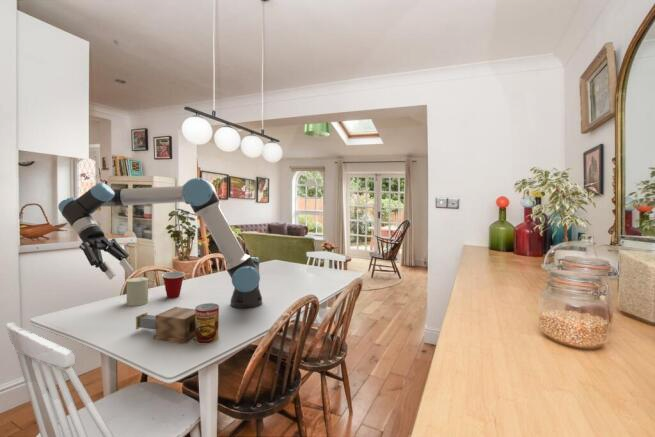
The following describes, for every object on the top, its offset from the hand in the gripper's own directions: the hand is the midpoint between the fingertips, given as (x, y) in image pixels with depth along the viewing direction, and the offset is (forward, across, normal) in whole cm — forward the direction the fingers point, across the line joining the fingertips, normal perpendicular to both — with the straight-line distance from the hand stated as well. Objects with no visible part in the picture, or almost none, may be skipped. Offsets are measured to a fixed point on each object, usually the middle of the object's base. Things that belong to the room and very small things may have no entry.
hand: (122, 274), depth 122 cm
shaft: (+27, 0, 0) cm, 27 cm away
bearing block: (+33, 0, +4) cm, 33 cm away
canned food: (+41, 0, +12) cm, 43 cm away
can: (+2, -26, -28) cm, 38 cm away
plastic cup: (+7, -40, -22) cm, 46 cm away
